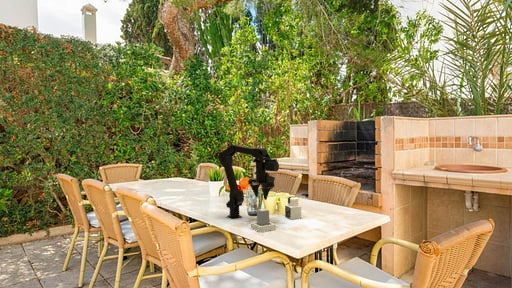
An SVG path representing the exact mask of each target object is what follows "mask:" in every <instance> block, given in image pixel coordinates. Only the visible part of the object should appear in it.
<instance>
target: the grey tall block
mask: <svg viewBox="0 0 512 288" xmlns="http://www.w3.org/2000/svg"><path fill="white" fill-rule="evenodd" d="M256 222H257V225H259V226H265V225H269V222H270V209H269V210H268V209H266V208H261V209H257V210H256Z"/></svg>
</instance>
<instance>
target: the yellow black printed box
mask: <svg viewBox="0 0 512 288" xmlns="http://www.w3.org/2000/svg"><path fill="white" fill-rule="evenodd" d="M284 217H285V218H287V219H289V220H297V219H302V205H300V204H299V197H297V196H289V197H287V204H285V205H284Z"/></svg>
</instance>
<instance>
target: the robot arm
mask: <svg viewBox="0 0 512 288" xmlns="http://www.w3.org/2000/svg"><path fill="white" fill-rule="evenodd" d="M237 153H240V154H243V155H245V154H246V155H249V156H251V157H253V158H254V159H252V161H251V162H252V163H255V171H254V173H253V174H254V175H255V178H254V177H253V178H249V179H248V182H247V184H248V185H249V186H250V188H251V190H252V191H253V192H252V193H253V194H254V196H255V198H258V197H259V189H260V186H261V192H262V196H263V199H264V200H266V201H267V199H268V197H269V193H270V191H271V190H272V189H274V188H275V181H276V180H275V179H276V177H274V176H272V175H270V173H268V172H278V171H279V170H280V164H279V161H278V159H277V158H272V157H271V156H270V154H269V153H268V151H267V148H266V147H249V146H243V145H239V144H230V146H228V147H227V148H225V149H224V150H222V151H220V152H219V153H218V154H217V158H218V161H219V163H220V165H221V166H222V167H223V170H224V172H225V177H226V180H227V183H228V184H227V185H228V188H229V195H228V197H229V200H228V201H227V202H226V204H225V205H226V208H228V209H229V214H228V215H227V217H228V218H230V219H239V218H242V216H243V215H240V207H242V206H243V202H244V201H245V194H244V191H243V190H240V189H239V187H238V182H237V178H236V174H235V172H234V168H233V162H234V160H233V157H234V156H235V155H236V154H237Z"/></svg>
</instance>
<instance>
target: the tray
mask: <svg viewBox="0 0 512 288" xmlns="http://www.w3.org/2000/svg"><path fill="white" fill-rule="evenodd" d="M251 228H252V229H251ZM250 229H251V230H253V231H256V230H257V231H256V232H258V231H259V232H258V233H260V232H262V233H265V232H264V231H267V232H271V231H270V230H272V231H276V230H277V229H276V223H274V222H271V221H269V225H265V226H259V225H257V221H255V222H254V221H253V222H251V223H250Z"/></svg>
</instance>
